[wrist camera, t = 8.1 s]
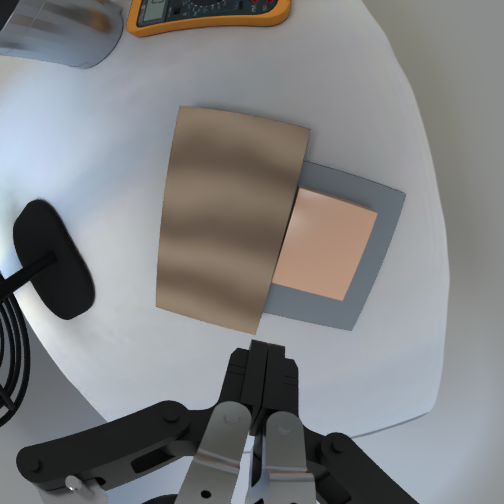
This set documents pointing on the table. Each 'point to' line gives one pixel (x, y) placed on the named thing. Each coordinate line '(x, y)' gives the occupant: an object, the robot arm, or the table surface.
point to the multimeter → (202, 14)
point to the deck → (225, 214)
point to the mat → (348, 310)
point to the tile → (322, 243)
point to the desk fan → (39, 287)
